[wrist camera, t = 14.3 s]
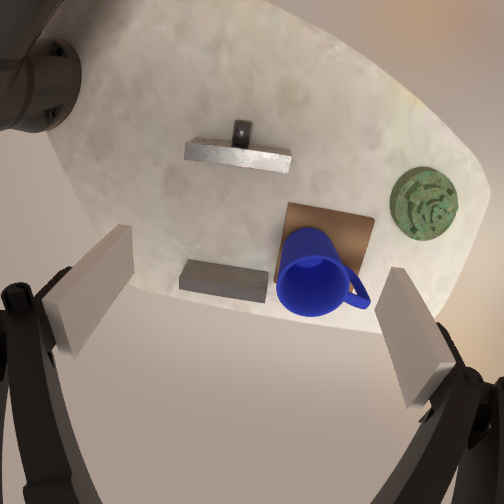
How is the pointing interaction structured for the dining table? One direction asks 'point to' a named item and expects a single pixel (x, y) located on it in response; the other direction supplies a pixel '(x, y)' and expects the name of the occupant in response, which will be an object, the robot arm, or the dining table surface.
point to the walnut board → (331, 232)
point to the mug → (316, 276)
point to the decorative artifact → (423, 203)
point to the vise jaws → (239, 154)
